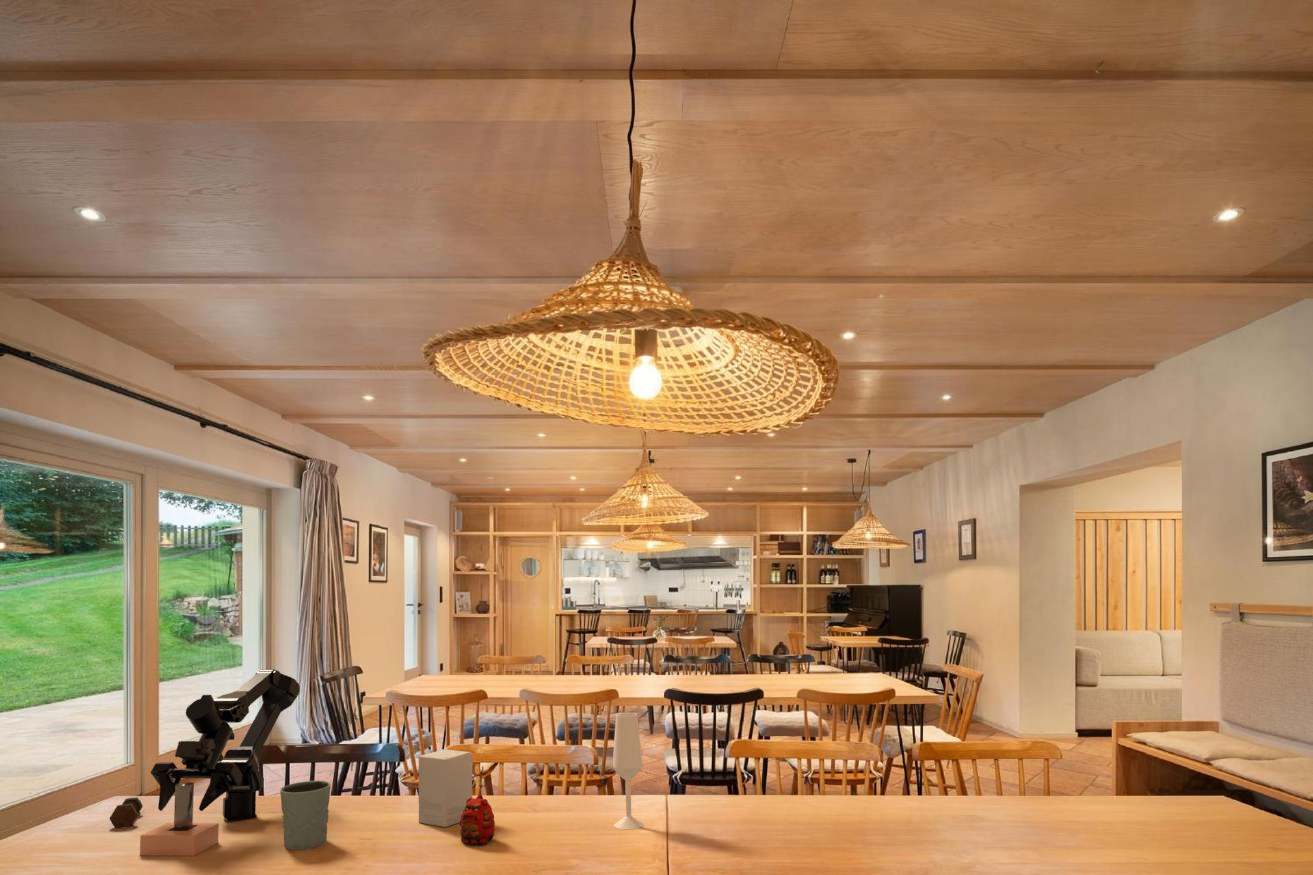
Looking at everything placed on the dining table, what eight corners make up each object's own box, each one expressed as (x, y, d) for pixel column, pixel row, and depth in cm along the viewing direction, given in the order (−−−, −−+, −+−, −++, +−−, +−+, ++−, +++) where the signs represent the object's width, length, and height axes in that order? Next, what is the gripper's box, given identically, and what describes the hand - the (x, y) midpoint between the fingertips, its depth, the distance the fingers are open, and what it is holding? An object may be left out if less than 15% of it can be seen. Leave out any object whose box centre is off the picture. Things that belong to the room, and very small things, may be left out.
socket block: (166, 841, 207) (166, 822, 208) (218, 842, 206) (218, 823, 207) (139, 855, 199) (140, 835, 199) (193, 855, 197) (194, 835, 198)
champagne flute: (608, 827, 210) (606, 716, 213) (621, 819, 216) (619, 711, 219) (636, 830, 207) (634, 717, 210) (648, 821, 213) (646, 712, 216)
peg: (183, 843, 206) (185, 781, 207) (195, 845, 204) (197, 783, 206) (169, 848, 203) (171, 785, 204) (181, 850, 201) (183, 787, 203)
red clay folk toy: (453, 844, 200) (453, 771, 202) (471, 835, 207) (471, 764, 209) (485, 847, 198) (484, 773, 199) (501, 838, 204) (501, 766, 206)
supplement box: (473, 818, 220) (473, 751, 222) (445, 827, 213) (445, 759, 215) (445, 813, 225) (445, 748, 227) (417, 822, 218) (417, 755, 219)
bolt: (136, 819, 234) (126, 833, 220) (117, 810, 233) (105, 824, 219) (150, 796, 236) (141, 809, 222) (131, 788, 234) (120, 800, 221)
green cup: (339, 838, 207) (340, 781, 208) (308, 853, 197) (309, 793, 199) (301, 835, 210) (302, 779, 211) (268, 849, 200) (269, 790, 202)
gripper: (157, 725, 211) (122, 788, 199) (237, 724, 209) (206, 788, 197) (177, 753, 218) (145, 817, 206) (254, 753, 216) (226, 817, 204)
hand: (180, 809), depth 203 cm, fingers open, 9 cm apart
